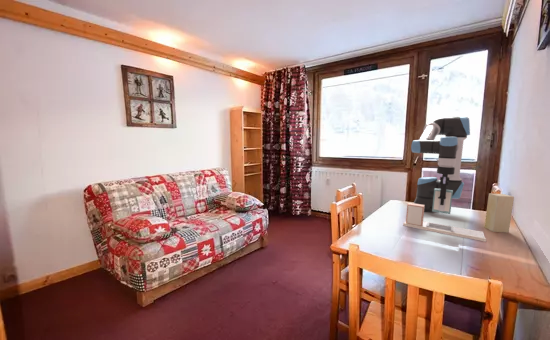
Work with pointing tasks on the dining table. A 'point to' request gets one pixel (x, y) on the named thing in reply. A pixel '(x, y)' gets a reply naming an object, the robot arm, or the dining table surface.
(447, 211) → the teal carton
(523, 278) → the dining table surface
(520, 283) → the dining table surface
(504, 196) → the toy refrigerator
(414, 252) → the dining table surface
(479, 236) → the shelf
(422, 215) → the terracotta carton
